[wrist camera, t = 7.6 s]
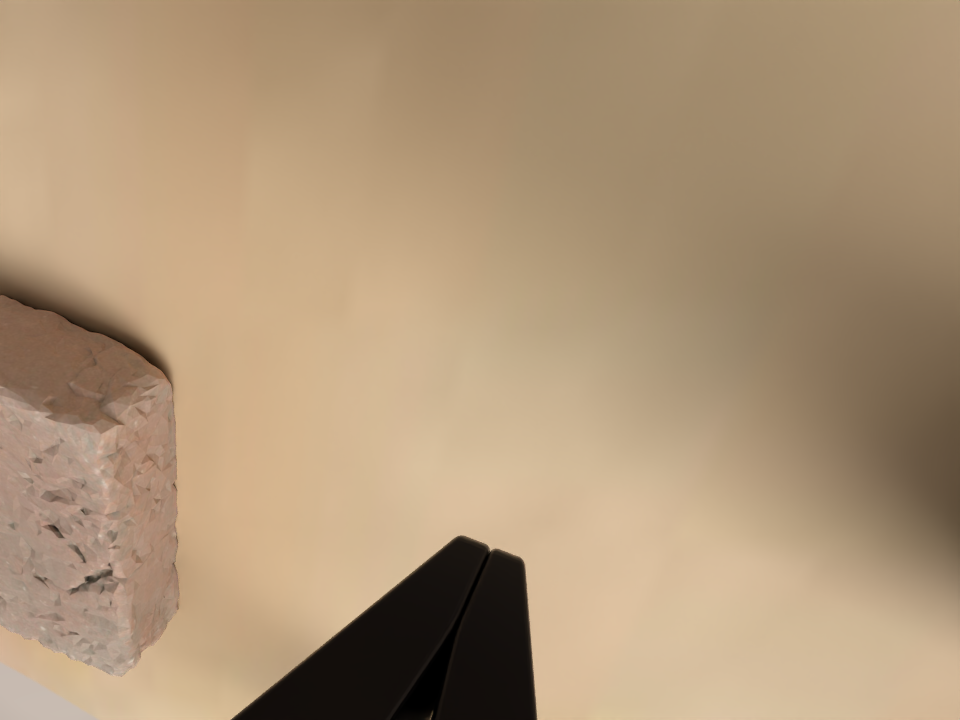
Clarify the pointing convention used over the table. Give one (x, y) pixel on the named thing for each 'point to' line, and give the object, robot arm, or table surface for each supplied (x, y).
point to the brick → (84, 491)
